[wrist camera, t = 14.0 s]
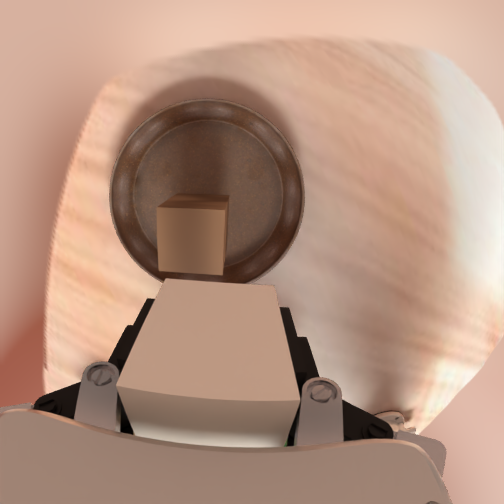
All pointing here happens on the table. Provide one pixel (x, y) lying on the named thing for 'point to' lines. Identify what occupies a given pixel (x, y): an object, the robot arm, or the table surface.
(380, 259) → the table surface
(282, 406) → the cream block
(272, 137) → the plant saucer
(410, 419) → the table surface
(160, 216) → the walnut block
